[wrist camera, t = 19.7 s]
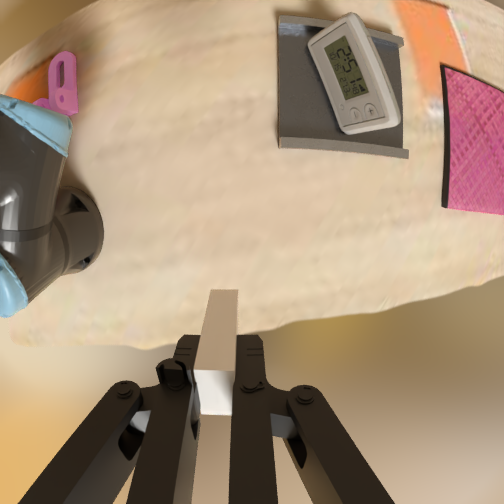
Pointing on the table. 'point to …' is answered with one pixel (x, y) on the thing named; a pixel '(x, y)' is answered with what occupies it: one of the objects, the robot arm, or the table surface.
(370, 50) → the digital clock
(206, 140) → the table surface
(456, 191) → the laptop bag
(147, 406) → the robot arm
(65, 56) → the bracket
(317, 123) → the rail plate
